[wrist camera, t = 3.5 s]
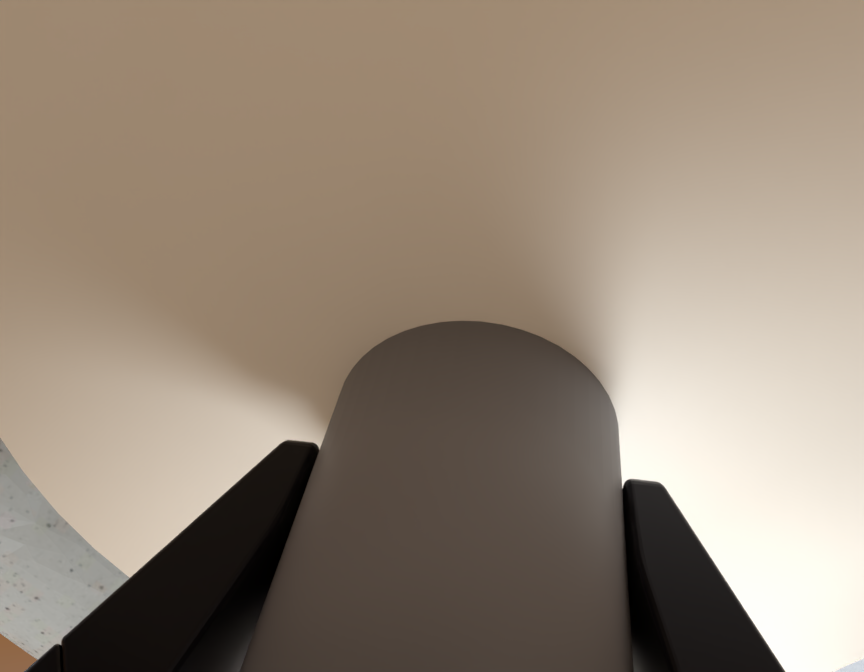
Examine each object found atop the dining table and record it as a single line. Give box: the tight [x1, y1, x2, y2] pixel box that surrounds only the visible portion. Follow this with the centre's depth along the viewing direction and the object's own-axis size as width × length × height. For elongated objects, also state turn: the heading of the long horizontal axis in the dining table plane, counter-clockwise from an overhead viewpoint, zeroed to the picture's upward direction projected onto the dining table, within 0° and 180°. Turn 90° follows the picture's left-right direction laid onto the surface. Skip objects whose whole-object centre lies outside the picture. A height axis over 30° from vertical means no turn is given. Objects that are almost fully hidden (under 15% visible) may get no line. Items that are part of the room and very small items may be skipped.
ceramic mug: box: [0, 438, 129, 660], centre depth 25 cm, size 11×8×8 cm
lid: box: [0, 0, 864, 672], centre depth 9 cm, size 14×14×6 cm
